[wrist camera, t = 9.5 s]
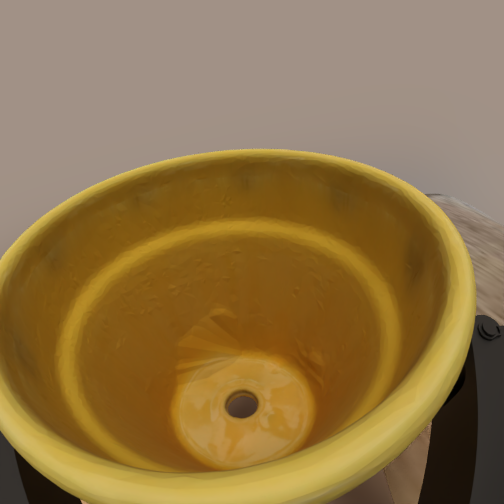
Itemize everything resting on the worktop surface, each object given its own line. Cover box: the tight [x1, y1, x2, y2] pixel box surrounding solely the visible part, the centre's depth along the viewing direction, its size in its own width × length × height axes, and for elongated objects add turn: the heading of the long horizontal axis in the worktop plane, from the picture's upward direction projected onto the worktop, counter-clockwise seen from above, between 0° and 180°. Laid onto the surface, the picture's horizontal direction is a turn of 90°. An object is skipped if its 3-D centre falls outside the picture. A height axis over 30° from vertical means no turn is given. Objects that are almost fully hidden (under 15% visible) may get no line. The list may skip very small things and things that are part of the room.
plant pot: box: [0, 149, 476, 504], centre depth 8 cm, size 10×10×10 cm
